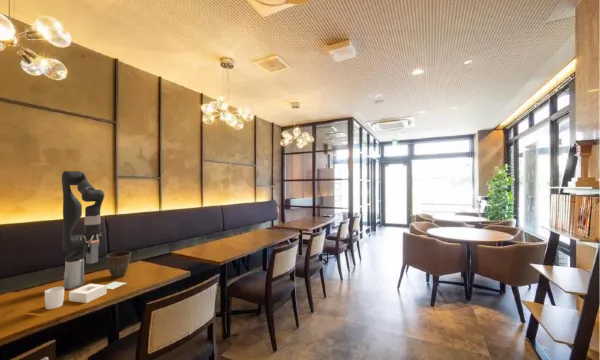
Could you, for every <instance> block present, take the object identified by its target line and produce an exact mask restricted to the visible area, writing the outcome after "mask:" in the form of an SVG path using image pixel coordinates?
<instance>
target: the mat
mask: <svg viewBox="0 0 600 360" xmlns="http://www.w3.org/2000/svg"><path fill="white" fill-rule="evenodd" d="M106 285H107V290H108V289H109V290H114V289H116V288H119V287H121V286H123V285H127V282H120V281H112V282H110V283H108V284H106Z"/></svg>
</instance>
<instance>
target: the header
mask: <svg viewBox="0 0 600 360" xmlns="http://www.w3.org/2000/svg"><path fill="white" fill-rule="evenodd" d="M107 291H108V289H107V284H96V283H88V284H86V285H83V286H80V287H77V288H74V289H72V290H71V291H69V293H68V294H69V295H68V299H69V300H68V301H69V302H75V303H83V304H88V303H90V302H92V301H94V300H96V299H98V298H101V297H102V296H104V295H106V294H107Z"/></svg>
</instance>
